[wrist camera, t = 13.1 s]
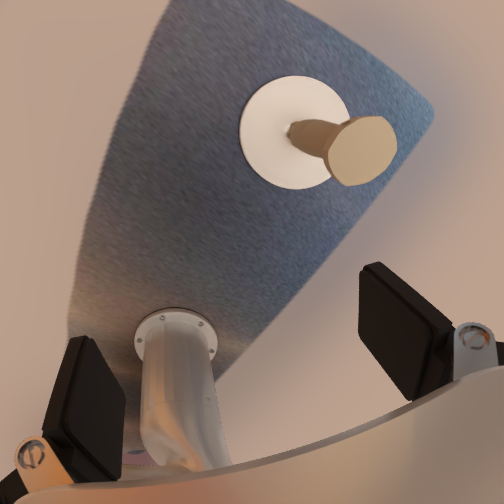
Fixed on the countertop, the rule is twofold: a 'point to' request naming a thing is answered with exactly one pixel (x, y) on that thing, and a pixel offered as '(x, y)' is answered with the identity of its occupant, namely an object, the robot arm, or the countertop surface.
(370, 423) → the robot arm
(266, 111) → the plate
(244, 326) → the countertop surface
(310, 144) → the handle
